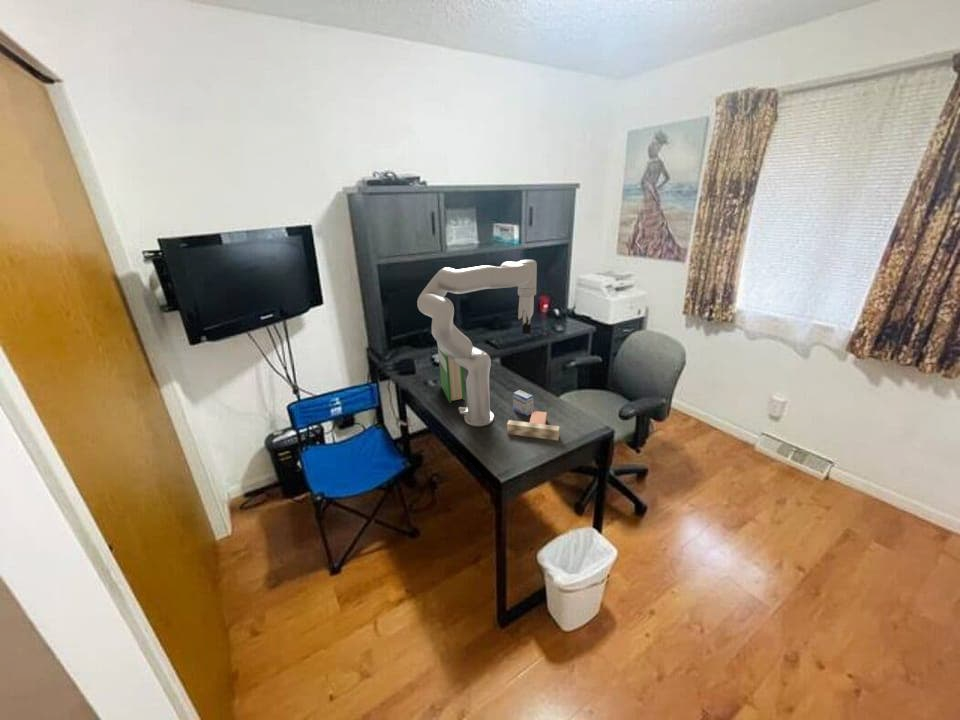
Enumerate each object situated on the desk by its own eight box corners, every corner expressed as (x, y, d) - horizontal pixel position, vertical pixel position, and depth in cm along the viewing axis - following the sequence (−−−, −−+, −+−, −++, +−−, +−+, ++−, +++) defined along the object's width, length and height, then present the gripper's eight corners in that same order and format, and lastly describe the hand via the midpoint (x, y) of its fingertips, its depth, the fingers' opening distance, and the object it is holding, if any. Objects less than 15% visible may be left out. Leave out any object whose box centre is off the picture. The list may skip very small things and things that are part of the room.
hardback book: (465, 400, 178) (462, 352, 168) (449, 403, 176) (445, 355, 167) (455, 383, 194) (452, 339, 184) (441, 386, 192) (437, 341, 182)
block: (528, 432, 153) (529, 423, 151) (532, 419, 162) (532, 410, 160) (544, 434, 152) (544, 425, 150) (546, 420, 160) (546, 412, 159)
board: (507, 433, 152) (507, 424, 150) (508, 429, 155) (508, 420, 153) (558, 440, 147) (558, 430, 145) (559, 436, 149) (559, 426, 148)
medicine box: (512, 410, 168) (512, 392, 165) (519, 406, 171) (519, 389, 168) (526, 416, 163) (527, 398, 160) (533, 412, 166) (533, 395, 162)
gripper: (521, 286, 165) (521, 326, 172) (514, 295, 152) (514, 338, 159) (539, 286, 163) (538, 327, 170) (533, 295, 150) (532, 339, 157)
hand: (526, 332), depth 165 cm, fingers closed
